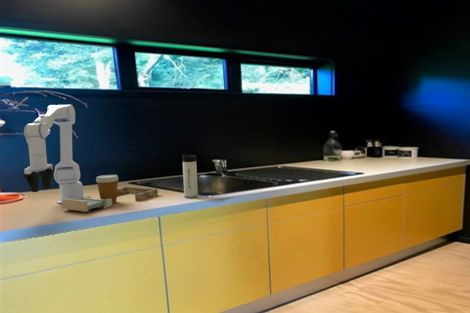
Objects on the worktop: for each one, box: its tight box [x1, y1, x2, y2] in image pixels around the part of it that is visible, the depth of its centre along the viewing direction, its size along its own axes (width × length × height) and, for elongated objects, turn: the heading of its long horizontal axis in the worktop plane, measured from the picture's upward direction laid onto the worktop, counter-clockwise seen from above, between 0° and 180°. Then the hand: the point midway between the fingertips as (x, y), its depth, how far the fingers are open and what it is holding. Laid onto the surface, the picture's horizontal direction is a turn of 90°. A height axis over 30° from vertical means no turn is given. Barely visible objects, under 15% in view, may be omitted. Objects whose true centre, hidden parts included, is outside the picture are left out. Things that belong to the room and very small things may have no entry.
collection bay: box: [117, 186, 159, 202], centre depth 169 cm, size 14×20×3 cm
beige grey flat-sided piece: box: [61, 195, 113, 213], centre depth 147 cm, size 13×14×5 cm
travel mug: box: [182, 153, 199, 199], centre depth 163 cm, size 6×7×20 cm
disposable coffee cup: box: [95, 174, 119, 205], centre depth 156 cm, size 10×10×12 cm
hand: (41, 189), depth 136 cm, fingers open, 7 cm apart
